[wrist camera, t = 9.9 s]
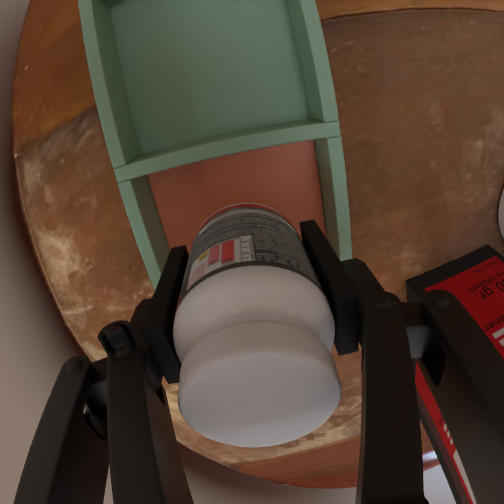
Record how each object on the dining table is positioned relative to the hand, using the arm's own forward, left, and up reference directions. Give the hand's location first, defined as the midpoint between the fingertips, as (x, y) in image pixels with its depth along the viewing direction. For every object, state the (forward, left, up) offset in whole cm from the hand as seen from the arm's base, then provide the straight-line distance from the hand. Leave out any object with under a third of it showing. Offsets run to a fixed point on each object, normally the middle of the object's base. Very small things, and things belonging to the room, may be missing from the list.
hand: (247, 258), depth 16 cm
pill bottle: (0, 0, -1) cm, 1 cm away
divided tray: (-5, 0, -5) cm, 7 cm away
